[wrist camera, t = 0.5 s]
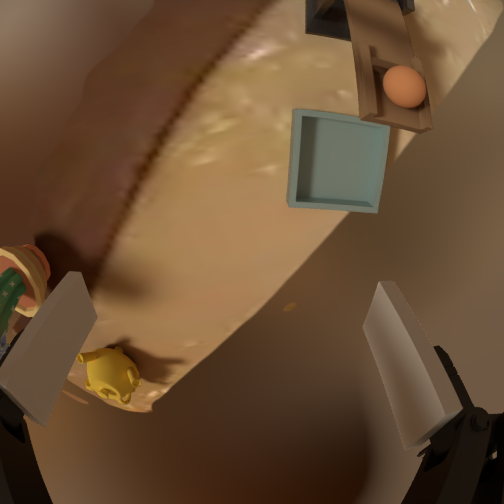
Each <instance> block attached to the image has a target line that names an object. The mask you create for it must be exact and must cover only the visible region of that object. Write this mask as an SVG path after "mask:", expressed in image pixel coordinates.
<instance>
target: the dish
mask: <svg viewBox="0 0 504 504" xmlns="http://www.w3.org/2000/svg"><path fill="white" fill-rule="evenodd" d="M389 135H390V126H387V125H382V124H377V123H372V122H367V121H362V120H360V117H355V116H349V115H343V114H336V113H329V112H322V111H314V110H304V109H292V126H291V143H290V158H289V173H288V186H287V199H286V201H287V204H288V206H289V207H293V208H311V209H328V210H342V211H357V212H368V213H378V208H379V202H380V197H381V191H382V186H383V180H384V173H385V167H386V160H387V152H388V144H389Z"/></svg>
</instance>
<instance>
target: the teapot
mask: <svg viewBox="0 0 504 504" xmlns="http://www.w3.org/2000/svg"><path fill="white" fill-rule="evenodd" d="M77 360H78V362H79V363H86V362H87V374H88V379H87V380H86V383H85V385H86V387H87V389H89V390H90V391H96V392H97V393H98V395H99V396H101V397H102V398H105V399H108V398H109V399H114V400H117V401H118V402H119V403H120V404H124V405H125V404H128V403H129V402H130V399H131V393H132V392H134V391H135V387H136V388H137V387H139V386H141V381H140V379H139V372H138V370H137V368H136V367H137V365H136V364H135V363H134V362H133V361H132V360H131V359H130V358H128V357H127V356H126V355H124V354H123V349H122V348H121V347H119V346H115V348H114V349H110V348H100V349H96V350H94V351H92V352H88V353H80V354H78V355H77ZM90 385H91V386H90ZM124 396H126V399H125V401H123V400H122V399H121V398H122V397H124Z"/></svg>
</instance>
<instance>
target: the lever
mask: <svg viewBox="0 0 504 504" xmlns="http://www.w3.org/2000/svg"><path fill="white" fill-rule="evenodd" d="M344 4H345V8H346V13H347V18H348V24H349V29H350V35H351V41H352V48H353V55H354V62H355V71H356V80H357V90H358V102H359V116H360V120H362V121H367V122H372V123H377V124H382V125H387V126H391V127H395V128H400V129H404V130H408V131H412V132H415V133H419V134H421V133H424V132H426V131H428V130H431V129H432V128H433V127H432V119H431V111H430V104H429V97H428V91H427V86H426V95H425V98H424V100H423V101H422V102H421V103H420V104H419V105H418V106H416V107H412V108H404V107H401V106H398V105H396V104H395V103H393V102H392V101H391V100H390V99H389V98H388V96H387V95H386V93H385V91H384V87H383V79H384V76H385V74H386V72H387V71H388V70H389V69H390V68H392V67H394V66H399V65H402V66H407V67H410V68H412V69H414V70H415V71H417V72H418V73H419V74H420V75H421V77H422V78H423V80H424V82H425V85H426V81H425V76H424V71H423V66H422V62H421V59H420V58H418V57H414V53H413V49H412V45H411V41H410V38H409V34H408V31H407V28H406V24H405V21H404V18H403V15H402V12H401V9H400V6H399V4H398V1H397V0H344Z"/></svg>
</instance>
